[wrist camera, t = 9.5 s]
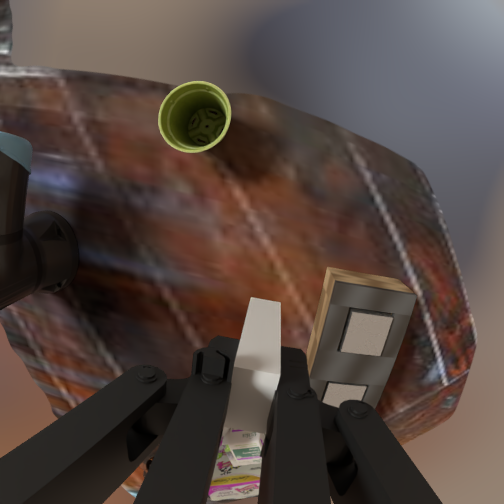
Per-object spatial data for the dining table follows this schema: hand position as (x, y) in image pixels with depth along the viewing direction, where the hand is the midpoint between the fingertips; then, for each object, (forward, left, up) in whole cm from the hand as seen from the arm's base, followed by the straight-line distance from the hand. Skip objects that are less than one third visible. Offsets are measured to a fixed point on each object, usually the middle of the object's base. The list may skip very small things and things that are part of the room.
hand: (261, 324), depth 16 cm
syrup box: (+2, -30, -33) cm, 44 cm away
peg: (+15, -10, -32) cm, 37 cm away
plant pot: (-12, +14, -33) cm, 37 cm away
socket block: (+15, -16, -32) cm, 39 cm away
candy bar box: (+2, -38, -33) cm, 50 cm away
